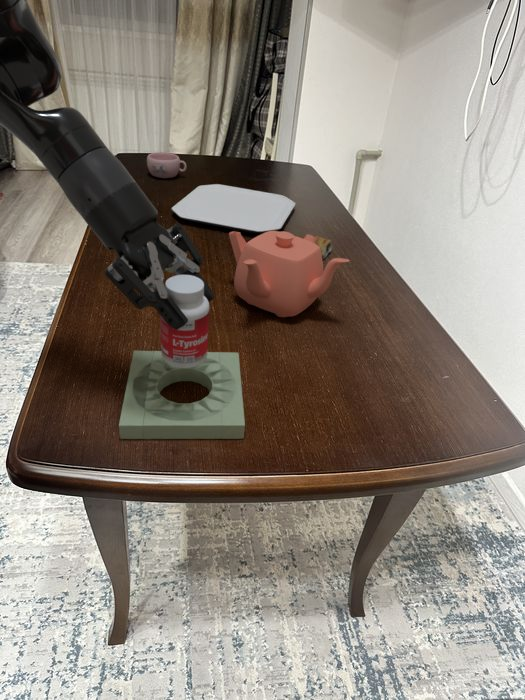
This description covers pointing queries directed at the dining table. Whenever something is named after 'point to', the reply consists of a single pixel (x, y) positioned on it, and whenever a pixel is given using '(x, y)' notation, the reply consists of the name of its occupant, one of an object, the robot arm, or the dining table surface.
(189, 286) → the pill bottle
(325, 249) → the pastry
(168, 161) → the mug
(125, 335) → the dining table surface
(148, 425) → the socket pad
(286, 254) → the teapot
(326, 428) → the dining table surface
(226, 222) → the plate
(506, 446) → the dining table surface
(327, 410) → the dining table surface
